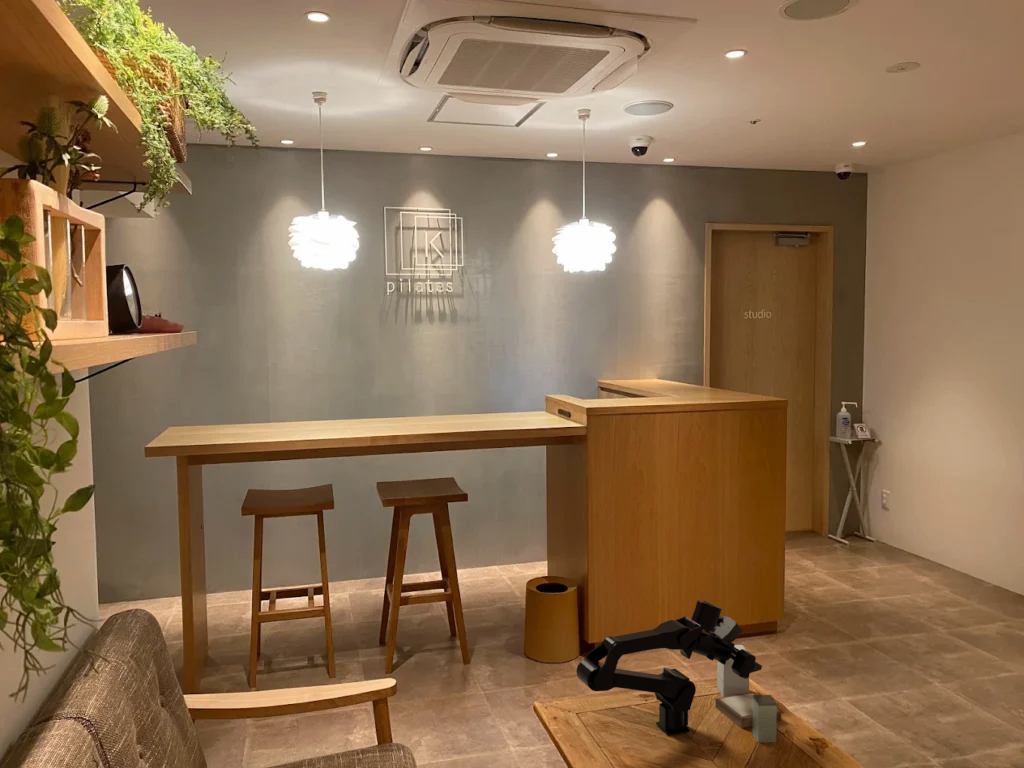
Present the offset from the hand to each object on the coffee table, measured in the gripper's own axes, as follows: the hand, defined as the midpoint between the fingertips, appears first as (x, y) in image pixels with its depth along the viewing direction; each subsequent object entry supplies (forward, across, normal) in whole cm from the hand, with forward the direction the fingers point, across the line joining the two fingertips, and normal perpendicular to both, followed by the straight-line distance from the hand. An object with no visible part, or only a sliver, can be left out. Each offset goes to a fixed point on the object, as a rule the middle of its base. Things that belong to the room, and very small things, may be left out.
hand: (750, 660), depth 219 cm
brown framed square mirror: (+4, -2, +13) cm, 14 cm away
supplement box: (+8, +10, +12) cm, 18 cm away
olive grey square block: (0, -14, +14) cm, 20 cm away
